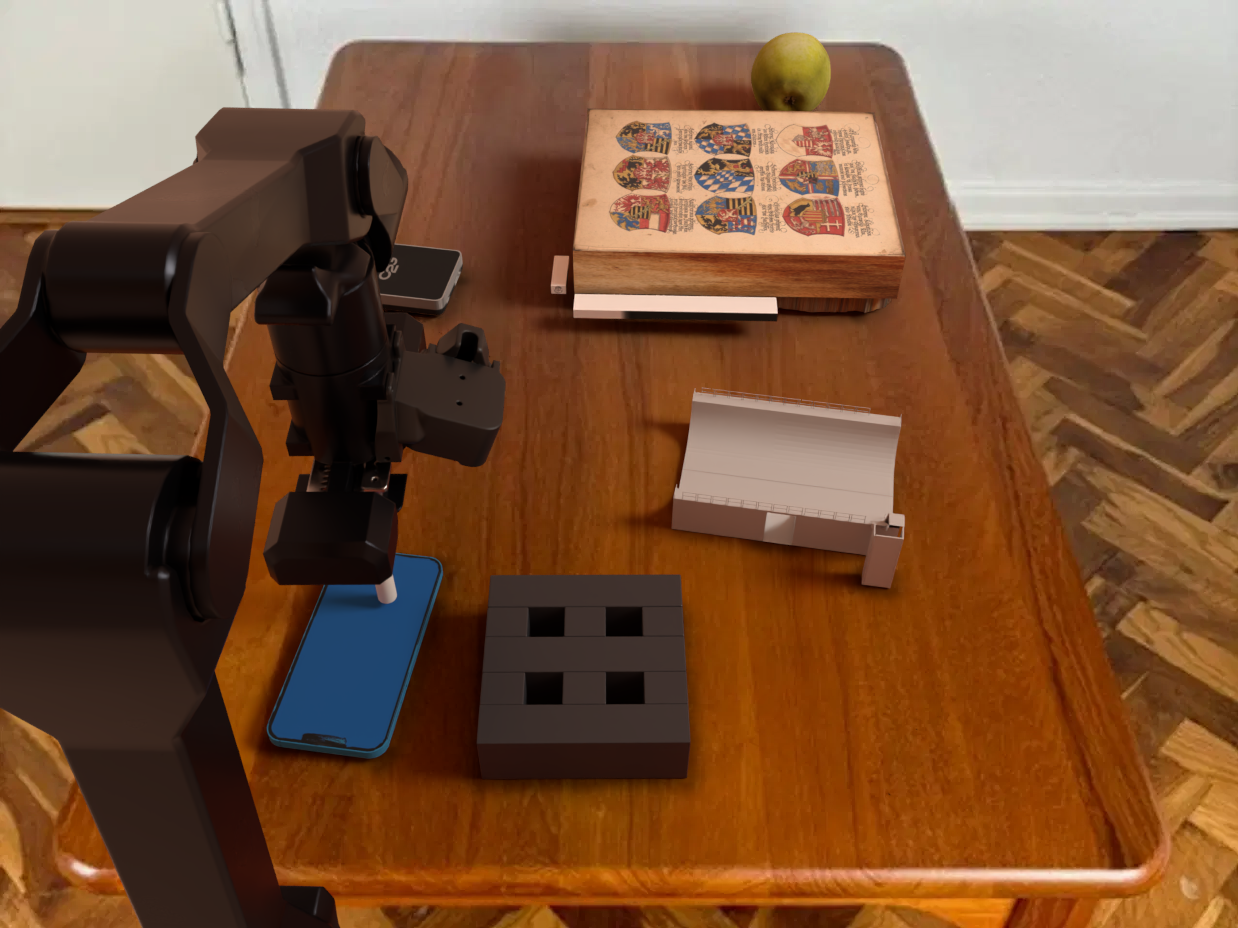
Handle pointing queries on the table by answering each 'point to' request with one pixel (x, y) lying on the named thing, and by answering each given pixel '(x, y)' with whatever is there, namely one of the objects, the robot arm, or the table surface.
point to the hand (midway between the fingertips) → (374, 536)
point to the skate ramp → (793, 478)
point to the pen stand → (584, 678)
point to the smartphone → (356, 664)
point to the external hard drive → (419, 279)
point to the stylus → (386, 591)
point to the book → (731, 216)
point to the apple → (791, 73)
